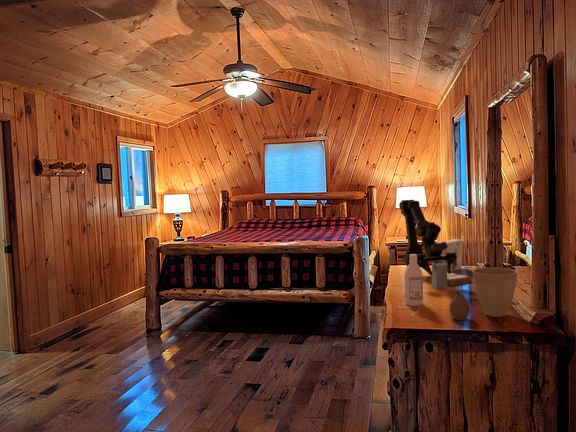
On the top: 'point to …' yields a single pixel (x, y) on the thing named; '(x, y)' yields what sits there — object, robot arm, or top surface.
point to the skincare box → (455, 247)
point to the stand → (454, 279)
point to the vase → (459, 307)
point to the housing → (439, 275)
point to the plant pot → (495, 289)
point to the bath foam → (413, 283)
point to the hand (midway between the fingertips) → (440, 274)
